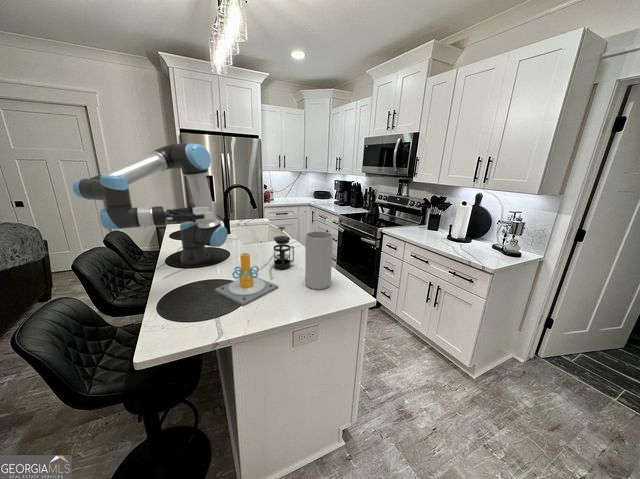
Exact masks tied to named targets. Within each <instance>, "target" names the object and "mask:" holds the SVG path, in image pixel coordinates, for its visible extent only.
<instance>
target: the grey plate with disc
mask: <svg viewBox="0 0 640 479" xmlns="http://www.w3.org/2000/svg"><path fill="white" fill-rule="evenodd" d="M253 283H254V284H253V286H252V287H249V288H242V287H241V286H240V278H238V279H236V280H233V281H231V282H229V283H226V284H224V285H221V286H219V287H216V288H214V292H215V293H217V294H219V295H221V296H223V297H225V298H227V299H229V300H230V301H233V302H234V303H236V304H239V305H240V306H242V307H245V306H246V305H249V304H250V303H252V302H254V301H256V300H259V299H261V298H262V297H264V296H266V295H268V294H269V293H272V292H274V291H275V290H277V289H279V285H278V284H275V283H273V282H270V281H267V280H264V279H262V278H260V277H258V276H257V277H256V278H253Z"/></svg>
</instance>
